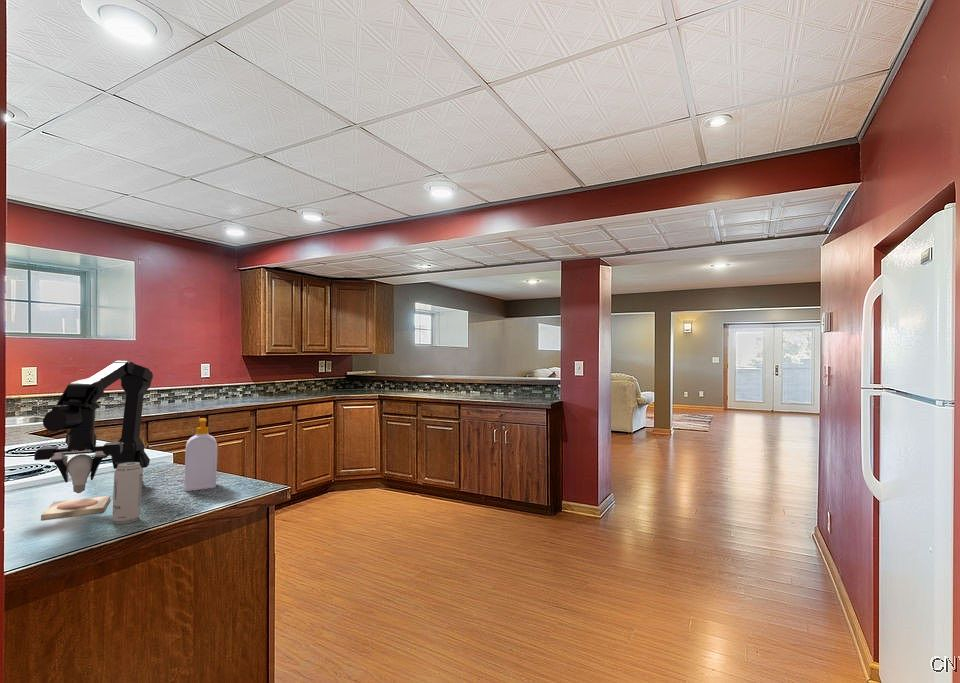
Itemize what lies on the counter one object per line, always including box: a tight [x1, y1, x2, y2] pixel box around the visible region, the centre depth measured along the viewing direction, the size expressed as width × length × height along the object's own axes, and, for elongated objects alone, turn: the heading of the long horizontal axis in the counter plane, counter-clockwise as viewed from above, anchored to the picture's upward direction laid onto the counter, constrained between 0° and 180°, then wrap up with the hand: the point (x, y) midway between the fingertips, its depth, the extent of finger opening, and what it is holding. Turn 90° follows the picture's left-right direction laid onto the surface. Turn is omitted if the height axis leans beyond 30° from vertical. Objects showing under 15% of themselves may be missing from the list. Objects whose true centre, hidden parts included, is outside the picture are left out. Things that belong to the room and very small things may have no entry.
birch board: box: [40, 495, 111, 520], centre depth 134 cm, size 13×13×1 cm
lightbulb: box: [66, 453, 93, 494], centre depth 135 cm, size 6×6×11 cm
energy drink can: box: [111, 462, 143, 525], centre depth 126 cm, size 6×6×15 cm
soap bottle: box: [183, 417, 219, 492], centre depth 158 cm, size 9×7×23 cm
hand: (79, 481), depth 134 cm, fingers closed on lightbulb, 5 cm apart
